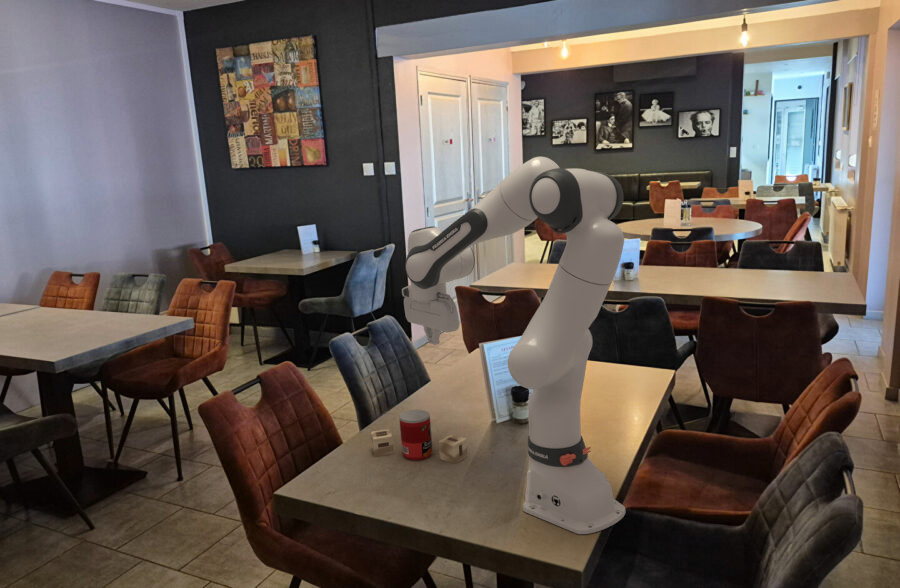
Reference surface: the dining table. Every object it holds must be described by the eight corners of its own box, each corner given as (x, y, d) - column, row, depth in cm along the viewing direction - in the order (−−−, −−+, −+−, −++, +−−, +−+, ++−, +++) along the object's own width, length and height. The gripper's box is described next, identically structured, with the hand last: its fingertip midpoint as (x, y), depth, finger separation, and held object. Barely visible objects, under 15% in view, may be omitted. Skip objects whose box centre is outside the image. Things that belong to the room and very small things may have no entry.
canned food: (429, 461, 166) (425, 420, 163) (399, 460, 167) (395, 420, 165) (435, 448, 173) (432, 409, 171) (406, 447, 175) (403, 409, 172)
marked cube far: (393, 454, 171) (392, 435, 170) (375, 457, 170) (373, 438, 169) (391, 446, 176) (389, 428, 175) (372, 449, 175) (370, 431, 174)
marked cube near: (468, 456, 167) (466, 438, 166) (455, 464, 163) (453, 445, 162) (452, 452, 170) (451, 433, 169) (440, 459, 167) (438, 440, 166)
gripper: (462, 293, 158) (467, 347, 161) (418, 285, 175) (423, 334, 177) (441, 297, 155) (446, 353, 157) (398, 289, 171) (403, 339, 174)
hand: (433, 343), depth 167 cm, fingers closed
